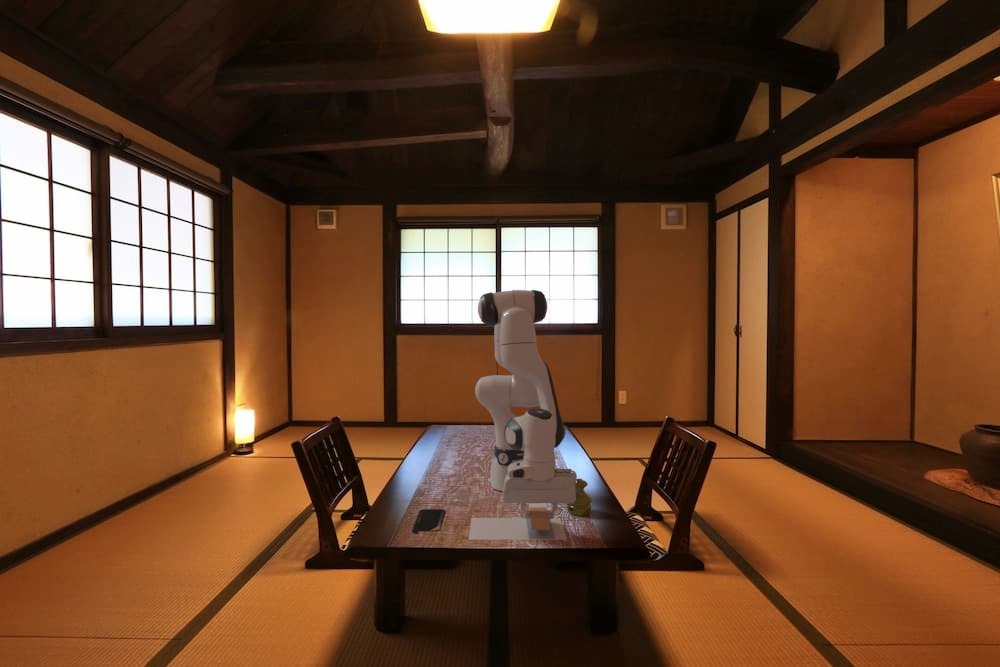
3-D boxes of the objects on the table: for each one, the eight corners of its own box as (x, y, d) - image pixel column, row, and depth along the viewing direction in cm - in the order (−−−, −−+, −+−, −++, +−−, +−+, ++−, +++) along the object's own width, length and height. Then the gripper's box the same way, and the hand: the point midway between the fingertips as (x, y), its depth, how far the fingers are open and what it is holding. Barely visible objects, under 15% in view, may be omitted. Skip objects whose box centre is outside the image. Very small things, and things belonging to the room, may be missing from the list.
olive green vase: (578, 518, 145) (578, 485, 145) (562, 510, 152) (562, 478, 151) (596, 513, 149) (596, 480, 149) (580, 505, 155) (580, 474, 155)
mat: (471, 520, 144) (471, 517, 144) (560, 520, 144) (560, 517, 144) (468, 541, 130) (468, 539, 130) (566, 541, 130) (566, 539, 130)
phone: (446, 509, 150) (439, 530, 135) (445, 513, 150) (439, 534, 135) (420, 509, 150) (410, 530, 135) (420, 512, 150) (410, 534, 135)
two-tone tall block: (549, 529, 131) (550, 518, 131) (531, 529, 131) (531, 518, 131) (546, 513, 142) (546, 503, 142) (528, 513, 142) (528, 503, 142)
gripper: (575, 465, 139) (574, 513, 140) (502, 465, 139) (502, 513, 140) (578, 472, 133) (578, 522, 133) (503, 471, 133) (502, 522, 133)
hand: (538, 517), depth 136 cm, fingers closed on two-tone tall block, 5 cm apart
